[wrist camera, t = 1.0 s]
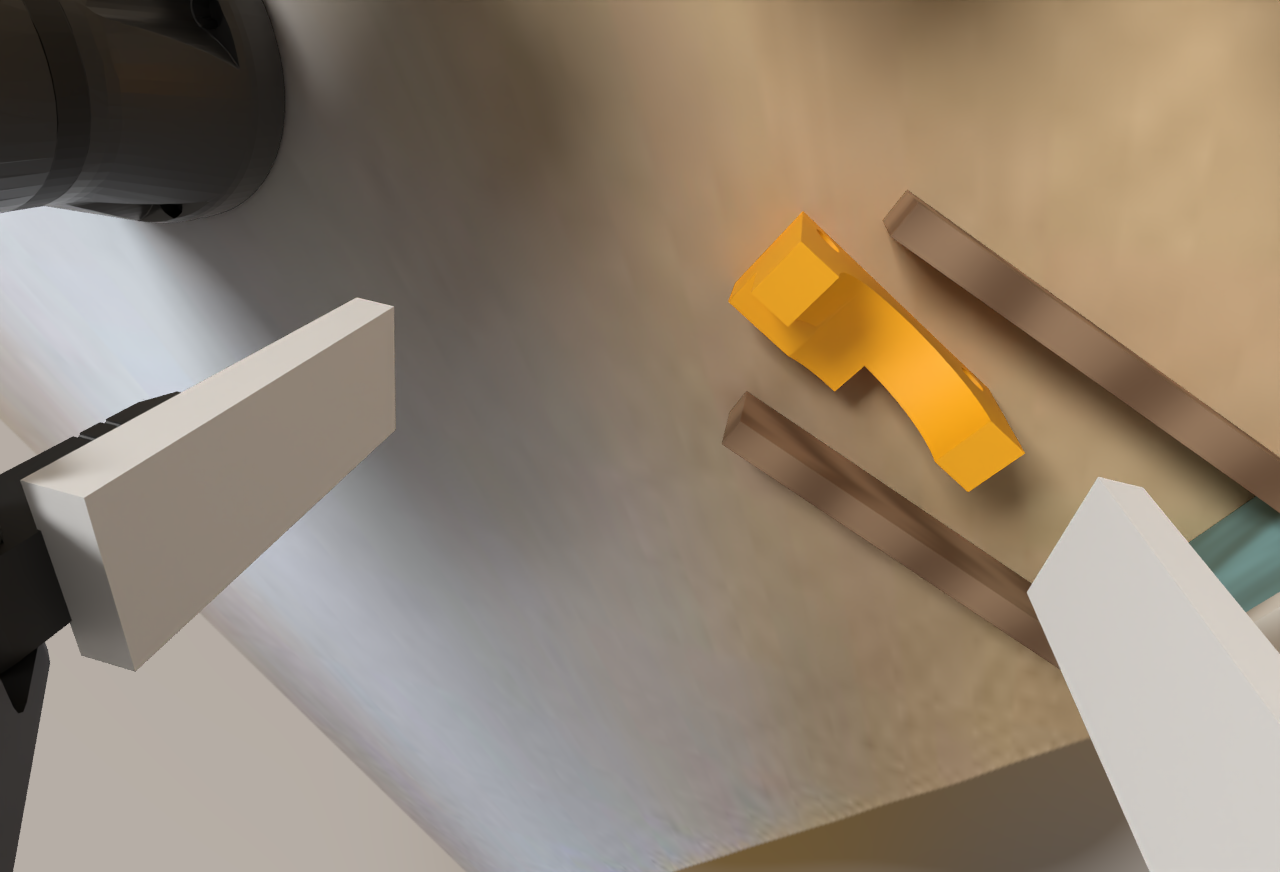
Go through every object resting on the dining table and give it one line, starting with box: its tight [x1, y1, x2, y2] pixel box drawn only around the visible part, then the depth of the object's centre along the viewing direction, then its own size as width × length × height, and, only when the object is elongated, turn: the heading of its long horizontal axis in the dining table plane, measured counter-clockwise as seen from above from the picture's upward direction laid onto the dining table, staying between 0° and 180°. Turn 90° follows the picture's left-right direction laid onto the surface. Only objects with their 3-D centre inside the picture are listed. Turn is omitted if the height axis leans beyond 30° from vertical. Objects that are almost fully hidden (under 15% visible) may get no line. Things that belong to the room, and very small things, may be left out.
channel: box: [722, 190, 1280, 670], centre depth 30 cm, size 24×13×6 cm, turn 58°
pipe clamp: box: [728, 212, 1025, 492], centre depth 29 cm, size 12×4×6 cm, turn 50°
